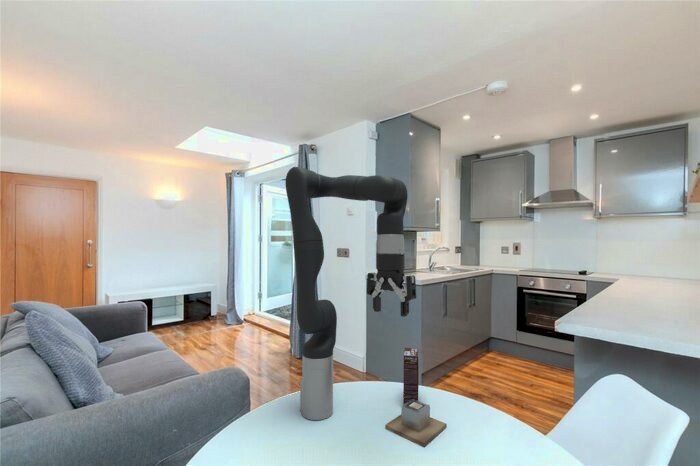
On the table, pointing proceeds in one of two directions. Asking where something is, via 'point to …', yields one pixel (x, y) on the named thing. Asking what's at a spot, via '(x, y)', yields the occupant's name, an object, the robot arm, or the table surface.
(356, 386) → the table surface
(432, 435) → the post stand
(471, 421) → the table surface
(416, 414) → the collar
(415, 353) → the supplement box
